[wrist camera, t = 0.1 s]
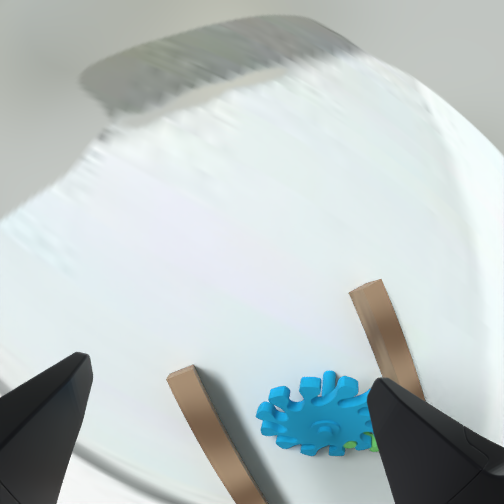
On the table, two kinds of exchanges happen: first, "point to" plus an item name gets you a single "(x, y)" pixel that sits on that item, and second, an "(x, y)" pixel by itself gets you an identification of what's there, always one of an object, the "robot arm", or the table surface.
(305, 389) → the gear
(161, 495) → the table surface
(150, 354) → the table surface
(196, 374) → the guide channel
